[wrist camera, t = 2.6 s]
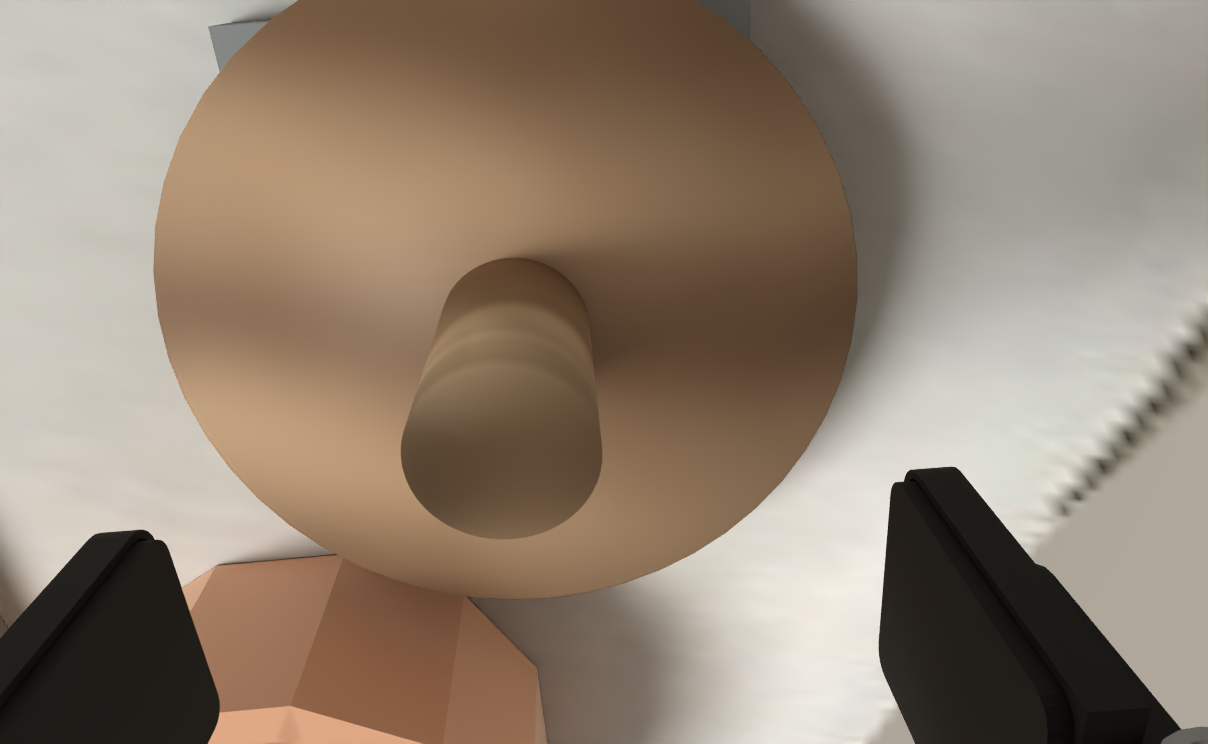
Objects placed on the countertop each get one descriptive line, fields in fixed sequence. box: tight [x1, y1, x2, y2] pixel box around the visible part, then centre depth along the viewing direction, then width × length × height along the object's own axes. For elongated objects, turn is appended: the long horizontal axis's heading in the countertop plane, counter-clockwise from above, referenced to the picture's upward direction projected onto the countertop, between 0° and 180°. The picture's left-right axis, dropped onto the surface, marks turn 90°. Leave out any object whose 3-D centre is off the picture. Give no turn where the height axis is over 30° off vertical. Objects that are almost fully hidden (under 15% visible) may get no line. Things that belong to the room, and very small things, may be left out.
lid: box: [154, 0, 857, 599], centre depth 15 cm, size 14×14×6 cm
